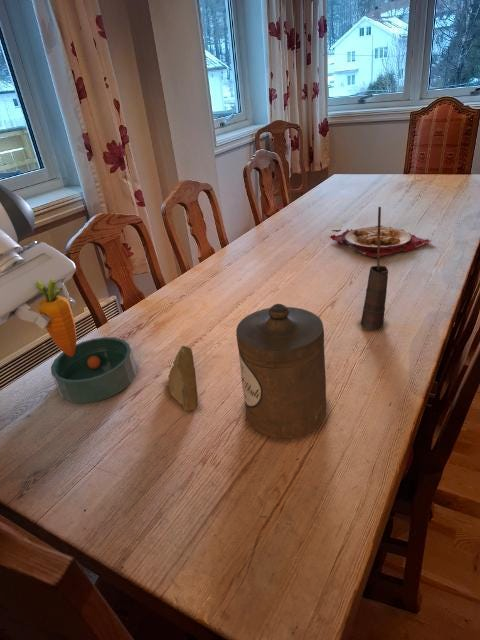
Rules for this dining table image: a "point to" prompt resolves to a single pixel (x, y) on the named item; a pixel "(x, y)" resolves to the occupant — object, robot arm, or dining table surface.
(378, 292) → the butter churn
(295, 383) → the wooden container
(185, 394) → the rock
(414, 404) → the dining table surface
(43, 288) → the carrot
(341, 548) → the dining table surface
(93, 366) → the ball
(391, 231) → the plate with food
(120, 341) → the bowl
